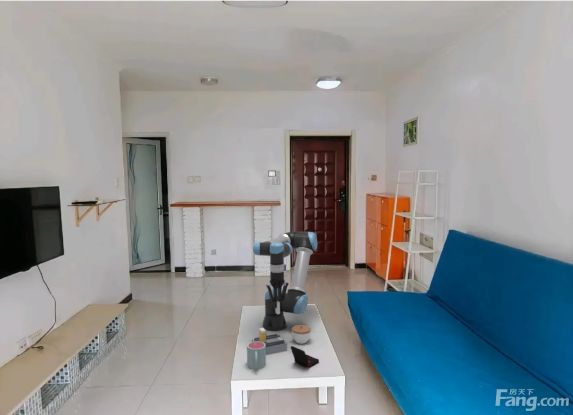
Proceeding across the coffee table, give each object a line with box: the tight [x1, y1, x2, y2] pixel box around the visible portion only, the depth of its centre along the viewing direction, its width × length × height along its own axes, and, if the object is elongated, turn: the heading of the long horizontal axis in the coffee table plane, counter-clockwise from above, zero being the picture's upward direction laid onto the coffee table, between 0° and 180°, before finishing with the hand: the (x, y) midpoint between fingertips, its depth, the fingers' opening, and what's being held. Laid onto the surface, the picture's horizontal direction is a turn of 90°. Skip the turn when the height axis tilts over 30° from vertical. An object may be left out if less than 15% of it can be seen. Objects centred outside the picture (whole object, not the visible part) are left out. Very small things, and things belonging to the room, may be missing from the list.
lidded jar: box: [291, 324, 312, 345], centre depth 211 cm, size 11×11×9 cm
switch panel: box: [251, 333, 288, 356], centre depth 202 cm, size 16×12×5 cm
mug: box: [246, 341, 267, 370], centre depth 183 cm, size 14×9×10 cm
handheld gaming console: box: [290, 345, 320, 370], centre depth 185 cm, size 9×12×10 cm
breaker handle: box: [258, 327, 267, 343], centre depth 200 cm, size 4×5×7 cm
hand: (277, 313), depth 204 cm, fingers closed
